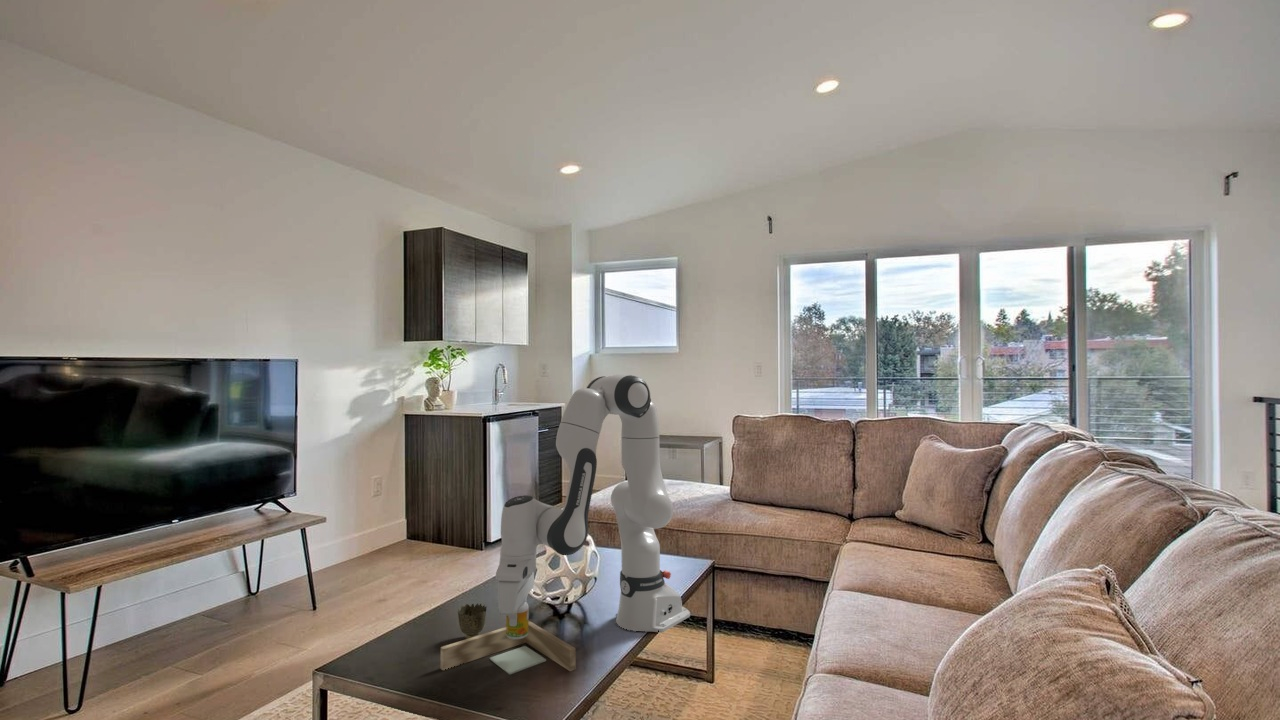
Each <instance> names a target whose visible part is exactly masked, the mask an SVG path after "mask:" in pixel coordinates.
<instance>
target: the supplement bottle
mask: <svg viewBox="0 0 1280 720" xmlns="http://www.w3.org/2000/svg"><path fill="white" fill-rule="evenodd" d="M525 601H526V595H525V596H524V601H523V603H522V604H521V606H520V607H519V608H518V611H517V617H518V623H517V625H516V626H510V625H509V617H508V615H505V617H506V619H505V621H506V624H505V625H506V626H505V627H506V636H507V637H508V638H510V639H522V638H524V637H526V636H527V635H528V621H530V620H529V615H530V614H529V611H530V609H529V608H530V607H529V603H528V602H527V601H526V602H525Z"/></svg>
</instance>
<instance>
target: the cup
mask: <svg viewBox="0 0 1280 720" xmlns="http://www.w3.org/2000/svg"><path fill="white" fill-rule="evenodd" d="M457 609H458V608H457ZM486 614H487V606H485V604H483V605H482V603H480V604H479V603H476V604H475V605H474V603H472V604H471V605H469V604H468V603H467V604H465V605H464V606H463V605H461V607H460V609H458V610H457V615H458V624H459V629H460V631H461V632H462V634H464V638H465V639H469V638H472V637H475V636H478V635H480V633H481V631H483V629H484V627H485V622H486V617H487V615H486Z"/></svg>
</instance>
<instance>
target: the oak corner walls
mask: <svg viewBox="0 0 1280 720" xmlns="http://www.w3.org/2000/svg"><path fill="white" fill-rule="evenodd" d="M523 644H527V645H528V646H530V647H532V648H534V649H535V650H536V651H538V652H539V653H541V654H543V655H544V656H546V657H547V658H549V659H550V660H551V661H553V662H555V663H557V664H558V665H560V666H561V667H563V668H564V669H565V670H567V671H569V672H573V671H575V670H576V647H574V646H572V645H571V644H569V643H567V642H566V641H564V640H562V639H561V638H559V637H557V636H555V635H554V634H552V633H551V632H549V631H547V630H545V629H544V628H542V627H541V626H539V625H537V624H535V623H534V622H532V621H530V620H529V621H528V635H527V636H526V637H524V638H522V639H510V638H508V637H507V636H506V626H504V627H501V628H498V629H496V630H492V631H489V632H485V633H482V634H479V635H478V636H475V637H472V638H469V639H466V638H465V639H463V640H460V641H456V642H453V643H450V644H446V645H443V646H441V647H440V660H439V661H440V663H439V664H440V667H439V668H440V670H442V671H446V670H449V669H452V668H454V666H455V667H457V666H460V664H461V665H464V664H467V663H470V662H472V661H476V660H479V659H481V658H484V657H487V656H490V655H493V654H496V653H499V652H502V651H506V650H508V649H511V648H514V647H517V646H520V645H523ZM463 663H464V664H463ZM451 667H452V668H451ZM448 668H449V669H448ZM445 669H446V670H445Z"/></svg>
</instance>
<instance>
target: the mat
mask: <svg viewBox="0 0 1280 720" xmlns="http://www.w3.org/2000/svg"><path fill="white" fill-rule="evenodd" d="M489 660H490V661H491V662H493V664H495V665H497V666H498V667H499V668H501V669H502V670H503V671H504V672H505V673H507V674H508V675H512V674H515V673H518V672H520V671H523V670H526V669H528V668H531V667H534V666H537V665H539V664H542V663H544V662H547V658H545V657H543V656H542V655H540V654H539V653H537V652H535V651H534V650H533V649H531V648H529V647H528V646H526V645H522V646H521V647H518V648H515V649H511V650H509V651H505V652H503V653H500V654H497V655H494V656H491V657H489Z"/></svg>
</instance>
